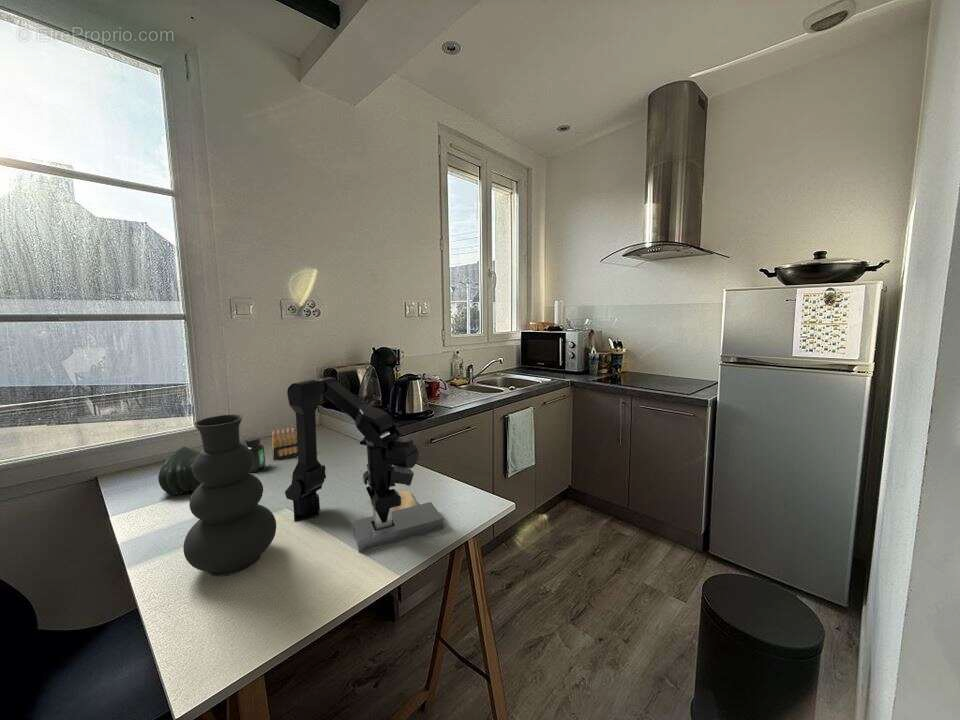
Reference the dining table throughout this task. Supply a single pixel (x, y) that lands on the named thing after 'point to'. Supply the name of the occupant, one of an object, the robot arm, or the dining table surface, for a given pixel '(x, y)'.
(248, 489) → the vase
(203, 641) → the dining table surface
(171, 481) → the squash
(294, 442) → the ammunition clip
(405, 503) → the oak pad
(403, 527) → the rail
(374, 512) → the brushed metal block
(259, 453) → the supplement bottle
